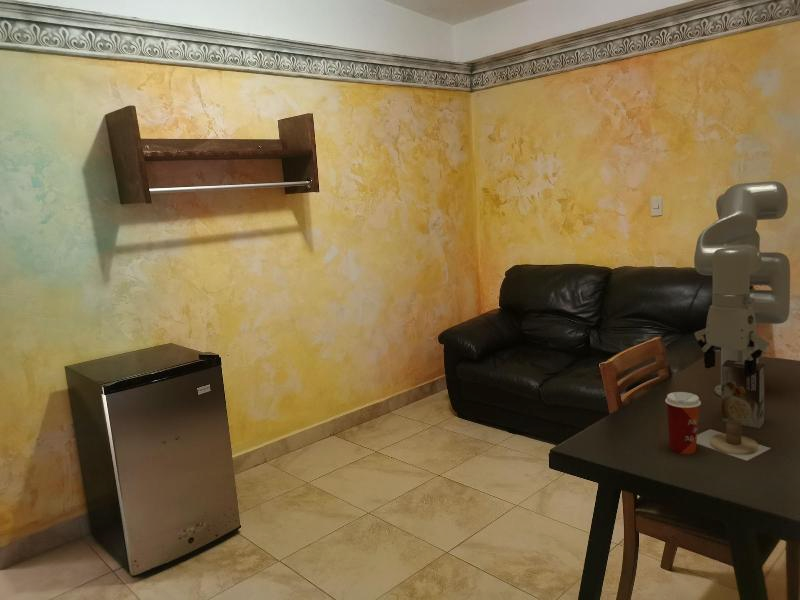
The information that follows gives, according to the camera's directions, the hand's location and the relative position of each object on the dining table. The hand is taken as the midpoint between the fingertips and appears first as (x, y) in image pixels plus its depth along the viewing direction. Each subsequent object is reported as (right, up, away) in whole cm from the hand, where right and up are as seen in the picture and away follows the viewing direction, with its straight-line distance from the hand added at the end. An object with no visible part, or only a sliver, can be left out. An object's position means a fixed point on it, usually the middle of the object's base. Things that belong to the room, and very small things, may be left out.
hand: (729, 371), depth 139 cm
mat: (+1, -19, +3) cm, 19 cm away
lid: (+2, -18, +2) cm, 18 cm away
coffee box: (+12, -16, +16) cm, 25 cm away
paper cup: (-10, -20, +3) cm, 22 cm away
